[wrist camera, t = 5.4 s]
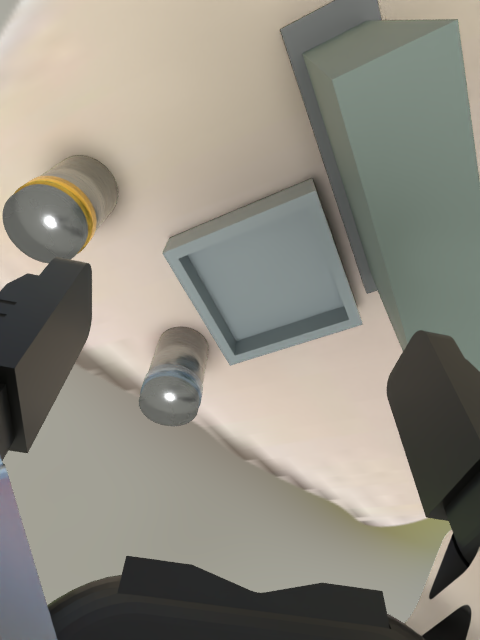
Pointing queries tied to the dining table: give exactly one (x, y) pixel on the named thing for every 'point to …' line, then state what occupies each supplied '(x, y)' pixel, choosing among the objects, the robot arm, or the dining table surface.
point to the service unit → (398, 159)
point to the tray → (266, 275)
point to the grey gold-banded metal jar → (60, 209)
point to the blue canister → (175, 378)
